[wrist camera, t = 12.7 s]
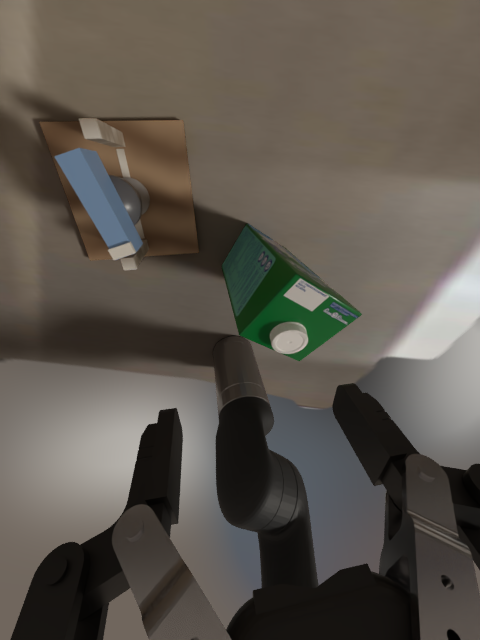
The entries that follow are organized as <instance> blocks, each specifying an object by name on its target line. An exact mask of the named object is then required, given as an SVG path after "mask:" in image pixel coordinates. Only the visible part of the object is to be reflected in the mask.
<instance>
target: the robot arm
mask: <svg viewBox="0 0 480 640" xmlns="http://www.w3.org/2000/svg"><path fill="white" fill-rule="evenodd" d="M213 358H214V371H215V382H216V392H217V393H216V394H217V404H218V415H219V426H218V430H217V435H216V485H217V495H218V501H219V505H220V508H221V511H222V513H223V515H224V517H225V518H226V520H227V521H228V522H229V523H230V524H232V525H234V526H236V527H238V528H242V529H246V530H250V531H255V532H258V539H259V547H260V560H261V575H262V588H261V589H257V590H253V598H251V599H250V600H248V601H247V602H246V603H245V604H244V605H243V606H242V607H241V608H240V609H239V610H238V611H237V613H236V614H235V615H234V617H233V618H232V620H231V622H230V623H229V625H228V627H227V629H225V628H224V626H223V624H222V623H221V621H220V619H219V618H218V616H217V615H216V613H215V611H214V610H213V608H212V606H211V605H210V603H209V601H208V600H207V598H206V596H205V595H204V593H203V591H202V590H201V588H200V586H199V585H198V583H197V581H196V580H195V578H194V576H193V575H192V573H191V572H190V570H189V569H188V567H187V566H186V564H185V563H184V561H183V559H182V558H181V556H180V555H179V553H178V551H177V550H176V548H175V546H174V545H173V543H172V541H171V540H170V529H171V525H172V524H178V515H179V497H180V479H181V461H182V442H183V438H182V437H183V435H182V427H181V423H180V419H179V415H178V412H177V409H176V408H174V409H166V410H160V412H159V416H158V422H157V423H155V424H149V425H148V426H147V428H146V429H145V431H144V433H143V434H142V436H141V440H140V445H139V451H138V454H137V461H136V464H135V469H134V474H133V478H132V483H131V488H130V492H129V497H128V501H127V505H126V507H125V509H124V512H123V513H122V515H121V516H120V518H119V519H118V520H117V521H116V522H115V523H114V524H113V525H112V526H111V527H110V528H108V529H107V530H105V531H104V532H102V533H100V534H99V535H97V536H95V537H93V538H91V539H90V540H88V541H86V542H84V543H83V544H81V545H79V544H78V543H75V542H68V543H65V544H62V545H60V546H58V547H57V548H56V549H54V550H53V551H52V552H51V553H49V554H48V555H47V557H46V558H45V559H44V560H43V561H42V563H41V564H40V566H39V567H38V569H37V571H36V572H35V574H34V577H33V579H32V582H31V585H30V587H29V590H28V593H27V596H26V598H25V601H24V604H23V607H22V609H21V612H20V615H19V618H18V621H17V623H16V626H15V629H14V632H13V634H12V638H11V640H103V636H104V629H105V624H106V617H107V611H108V605H109V602H110V601H112V600H113V599H115V598H116V597H118V596H119V595H120V594H122V593H123V592H125V591H126V590H128V589H129V588H131V590H132V592H133V594H134V597H135V599H136V602H137V604H138V606H139V609H140V611H141V614H142V621H143V625H144V628H145V630H146V633H147V636H148V638H149V640H480V595H479V589H478V584H477V579H476V574H475V569H474V564H473V561H474V562H475V563H476V565H477V567H478V568H479V570H480V464H474V465H472V466H471V467H470V468H469V469H468V470H461V469H456V468H450V467H444V466H440V465H439V464H438V463H436V462H435V461H434V460H432V459H430V458H429V457H427V456H424V455H421V454H420V453H419V452H417V450H416V449H415V448H414V447H413V445H412V444H411V443H410V442H409V440H408V439H407V438H406V437H405V435H404V434H403V433H402V431H401V430H400V429H399V428H398V426H397V425H396V424H395V423H394V421H393V420H391V417H390V416H389V415H388V414H387V412H385V411H384V409H383V407H382V406H381V405H380V404H379V402H378V401H377V400H376V399H374V398H373V397H371V396H370V395H369V394H368V393H362V392H361V391H360V389H359V388H358V386H357V385H356V384H354V383H351V384H344V385H339V386H338V387H337V390H336V394H335V398H334V401H333V412H334V415H335V418H336V419H337V421H338V423H339V424H340V426H341V428H342V430H343V432H344V434H345V435H346V437H347V439H348V441H349V442H350V444H351V446H352V448H353V450H354V451H355V453H356V455H357V457H358V458H359V460H360V462H361V464H362V466H363V467H364V469H365V471H366V473H367V474H368V476H369V478H370V480H371V482H372V483H373V485H374V486H376V485H381V484H383V485H384V486H385V488H386V490H387V491H386V497H385V501H386V502H385V531H384V545H383V549H382V552H381V558H380V566H379V574H378V573H375V572H371V571H370V568H369V566H368V564H363V565H359V566H355V567H350V568H346V569H342V570H340V571H338V572H337V573H336V574H334V575H333V576H331V577H330V578H329V579H327V580H326V581H325V582H323V583H322V584H321V585H319V586H318V579H317V572H316V564H315V557H314V548H313V540H312V532H311V523H310V515H309V508H308V501H307V495H306V490H305V486H304V483H303V480H302V477H301V475H300V473H299V471H298V469H297V468H296V467H295V466H294V465H293V463H292V462H290V461H289V460H288V459H286V458H284V457H283V456H281V455H279V454H277V453H275V452H273V451H271V450H269V449H268V446H267V442H266V438H265V436H266V435H267V434H268V433H269V432H270V431H271V429H272V427H273V424H274V417H273V413H272V410H271V407H270V404H269V400H268V397H267V394H266V391H265V388H264V385H263V381H262V378H261V375H260V372H259V369H258V365H257V362H256V359H255V356H254V352H253V349H252V346H251V344H250V342H249V341H248V340H246V339H245V338H243V337H239V336H230V337H226V338H224V339H222V340H220V341H219V342H218V343H217V344H216V346H215V347H214V350H213Z"/></svg>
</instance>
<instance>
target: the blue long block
mask: <svg viewBox="0 0 480 640" xmlns="http://www.w3.org/2000/svg"><path fill="white" fill-rule="evenodd" d="M54 157H55V159H56V160H57V162H58V164H59V165H60V167H61V169H62V170H63V172H64V174H65V176H66V177H67V179H68V181H69V182H70V184H71V186H72V187H73V189H74V191H75V192H76V194H77V196H78V197H79V199H80V201H81V202H82V204H83V206H84V207H85V209H86V211H87V212H88V214H89V216H90V217H91V219H92V221H93V223H94V224H95V226H96V228H97V229H98V231H99V233H100V234H101V236H102V238H103V239H104V241H105V243H106V244H107V246H108V248H109V249H108V251H109V253H110V255H111V256H112V258H113V260H117V259H120V258H123V257H126V256H129V255H132V254H135V253H136V252H137V251H138V250H139V248H140V247H141V246H142V244H143V242H142V240H141V238H140V236H139V234H138V232H137V230H136V228H135V226H134V225H136V224H137V223H138V221H139V220H140V218H141V215H142V202H141V198H140V196H139V194H138V192H137V191H136V189H135V188H134V187H133V186H132V185H131V184H130V183H129V182H128V181H126V180H125V179H123V178H121V177H118V176H114V175H108V173H107V171H106V169H105V167H104V165H103V163H102V161H101V159H100V157H99V155H98V153H97V151H92V150H87V149H83V148H77V149H74V150H71V151H68V152H66V153H63V154H60V155H57V156H54Z"/></svg>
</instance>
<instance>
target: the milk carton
mask: <svg viewBox="0 0 480 640" xmlns="http://www.w3.org/2000/svg"><path fill="white" fill-rule="evenodd" d="M221 267H222V270H223V274H224V278H225V282H226V286H227V290H228V294H229V298H230V301H231V305H232V309H233V313H234V317H235V321H236V325H237V329H238V332H239V335H240V336H242V337H244V338H247V339H249V340H251V341H254V342H256V343H258V344H261V345H263V346H265V347H268V348H270V349H272V350H275V351H276V352H278V353H281V354H284V355H286V356H288V357H291V358H293V359H295V360H298V361H300V360H302V359H303V358H304V357H306V356H307V355H308V354H310V353H311V352H312V351H314V350H315V349H316V348H318V347H319V346H321V345H322V344H323V343H325V342H326V341H327V340H329V339H330V338H331V337H333V336H334V335H335V334H337V333H338V332H339V331H341V330H342V329H343V328H345V327H346V326H347V325H349V324H350V323H351V322H353V321H354V320H355V319H357V318H358V317H359V316H361V315H362V314H361V313H360V312H359V311H358V310H357V309H356V308H355V307H353V306H352V305H351V304H350V303H349V302H348V301H346V300H345V299H344V298H343V297H342V296H341V295H339V294H338V293H337V292H336V291H335V290H334V289H332V288H331V287H330V286H329V285H328V284H327V283H325V282H324V281H323V280H322V279H321V278H320V277H318V276H317V275H316V274H315V273H314V272H313V271H311V270H310V269H309V268H308V267H307V266H306V265H305V264H303V263H302V262H301V261H300V260H299V259H298V258H296V257H295V256H294V255H293V254H292V253H291V252H289V251H288V250H287V249H286V248H284V247H283V246H281V245H280V244H278V243H277V242H275V241H274V240H272V239H271V238H269V237H268V236H266V235H265V234H263V233H262V232H260V231H259V230H257V229H256V228H254V227H253V226H251V225H250V224H248V223H247V224H246V225H245V227H244V229H243V230H242V232H241V234H240V235H239V237H238V239H237V241H236V242H235V244H234V246H233V247H232V249H231V251H230V252H229V254H228V256H227V258H226V259H225V261H224V263H223V264H222V266H221Z"/></svg>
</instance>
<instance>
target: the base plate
mask: <svg viewBox="0 0 480 640" xmlns="http://www.w3.org/2000/svg"><path fill="white" fill-rule="evenodd" d="M39 123H40V126H41V128H42V131H43V134H44V136H45V139H46V142H47V145H48V147H49V150H50V153H51V155H52V158H53V161H54V164H55V166H56V169H57V172H58V175H59V177H60V180H61V183H62V185H63V188H64V191H65V194H66V196H67V199H68V202H69V204H70V207H71V210H72V213H73V215H74V218H75V221H76V223H77V226H78V229H79V232H80V234H81V237H82V240H83V242H84V245H85V248H86V251H87V253H88V256H89V259H90V261H91V260H105V259H113V258H112V256H111V255H110V253H109V251H108V249H109V248H108V246H107V244H106V243H105V241H104V239H103V238H102V236H101V234H100V233H99V231H98V229H97V228H96V226H95V224H94V223H93V221H92V219H91V217H90V216H89V214H88V212H87V211H86V209H85V207H84V206H83V204H82V202H81V201H80V199H79V197H78V196H77V194H76V192H75V191H74V189H73V187H72V186H71V184H70V182H69V181H68V179H67V177H66V176H65V174H64V172H63V170H62V169H61V167H60V165H59V164H58V162H57V160H56V159H55V157H54V156H57V155H60V154H63V153H66V152H68V151H71V150H74V149H77V148H83V149H87V150H92V151H97V153H98V155H99V157H100V159H101V161H102V163H103V165H104V167H105V169H106V171H107V173H108V175H114V176H118V177H121V178H123V179H125V180H126V181H128V182H129V183H130V184H131V185H132V186H133V187H134V188H135V189H136V191H137V192H138V194H139V196H140V198H141V202H142V215H141V218H140V220H139V221H138V223H137V224H136V225H134V226H135V228H136V230H137V232H138V234H139V236H140V238H141V240H142V242H143V244H142V246H141V247H140V248H139V250H138V251H137V252H136V253H135V254H132V255H129V256H126V257H123V258H120V259H121V262H122V265H123V269H124V270H135V269H137V268H138V266H139V265H140V263H141V261H142V260H143V258H144V257H146V256H160V255H174V254H187V253H199V247H198V239H197V231H196V222H195V214H194V206H193V198H192V189H191V181H190V173H189V164H188V156H187V148H186V139H185V131H184V123H183V120H150V121H100V120H98V119H96V118H79V121H60V122H39Z"/></svg>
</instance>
